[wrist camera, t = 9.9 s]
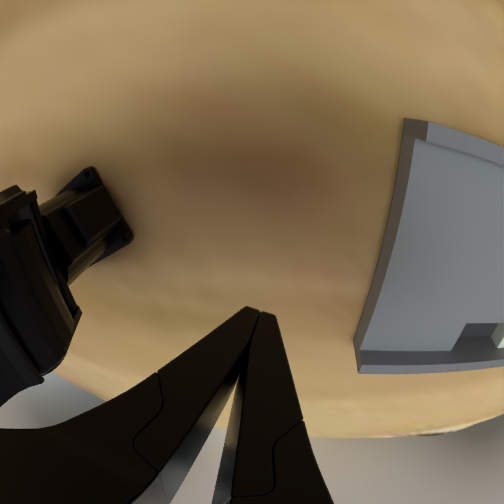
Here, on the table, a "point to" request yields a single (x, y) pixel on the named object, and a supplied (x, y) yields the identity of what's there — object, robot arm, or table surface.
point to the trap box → (439, 260)
